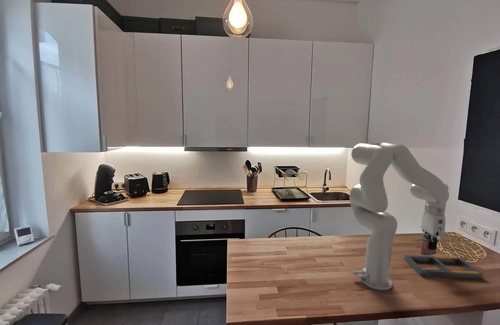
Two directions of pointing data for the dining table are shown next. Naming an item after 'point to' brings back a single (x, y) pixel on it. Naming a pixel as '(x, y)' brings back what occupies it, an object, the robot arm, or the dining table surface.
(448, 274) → the grey divided frame
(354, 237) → the dining table surface
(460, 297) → the dining table surface
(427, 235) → the reddish brown container
